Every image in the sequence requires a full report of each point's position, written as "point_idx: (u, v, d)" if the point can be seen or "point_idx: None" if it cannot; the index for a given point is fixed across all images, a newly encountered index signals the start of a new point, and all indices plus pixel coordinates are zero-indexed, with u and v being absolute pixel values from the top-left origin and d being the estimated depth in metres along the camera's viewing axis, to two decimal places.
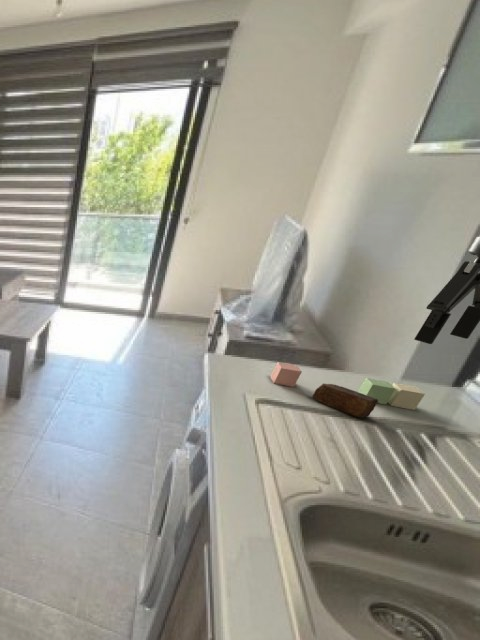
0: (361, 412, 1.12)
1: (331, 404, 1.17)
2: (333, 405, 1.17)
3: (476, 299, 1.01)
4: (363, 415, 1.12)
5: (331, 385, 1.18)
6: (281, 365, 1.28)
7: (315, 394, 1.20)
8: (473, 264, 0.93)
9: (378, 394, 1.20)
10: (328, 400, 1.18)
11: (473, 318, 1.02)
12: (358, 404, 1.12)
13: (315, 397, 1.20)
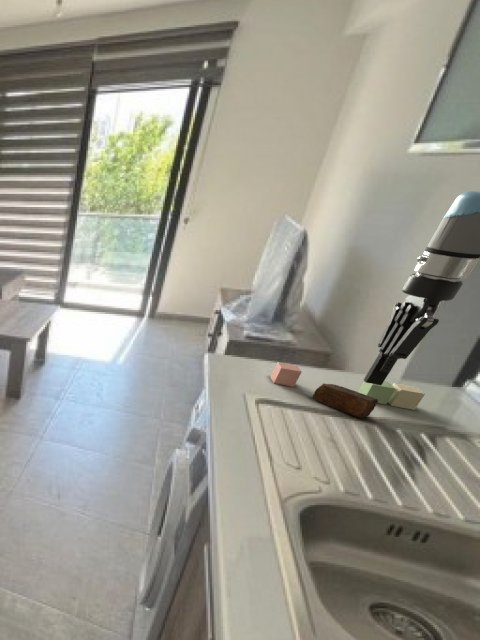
0: (361, 412, 1.12)
1: (331, 404, 1.17)
2: (333, 405, 1.17)
3: (389, 343, 1.03)
4: (363, 415, 1.12)
5: (331, 385, 1.18)
6: (281, 365, 1.28)
7: (315, 394, 1.20)
8: (430, 322, 0.93)
9: (378, 394, 1.20)
10: (328, 400, 1.18)
11: None
12: (358, 404, 1.12)
13: (315, 397, 1.20)
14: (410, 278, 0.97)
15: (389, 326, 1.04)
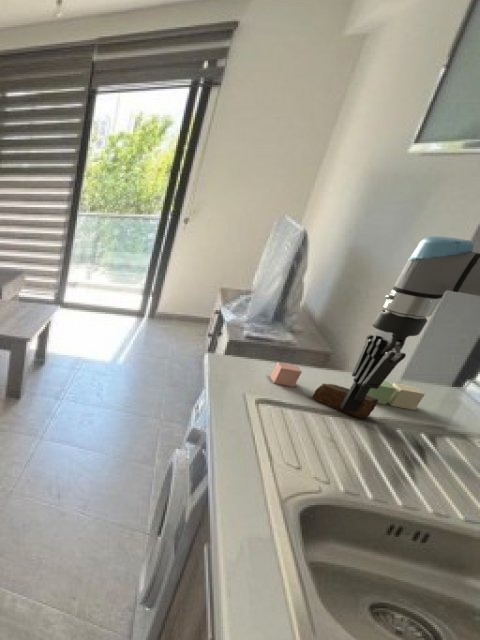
0: (361, 412, 1.12)
1: (331, 404, 1.17)
2: (333, 405, 1.17)
3: (362, 374, 1.10)
4: (363, 415, 1.12)
5: (331, 385, 1.18)
6: (281, 365, 1.28)
7: (315, 394, 1.20)
8: (398, 356, 1.00)
9: (378, 394, 1.20)
10: (328, 400, 1.18)
11: None
12: None
13: (315, 398, 1.20)
14: (379, 314, 1.04)
15: (362, 357, 1.11)
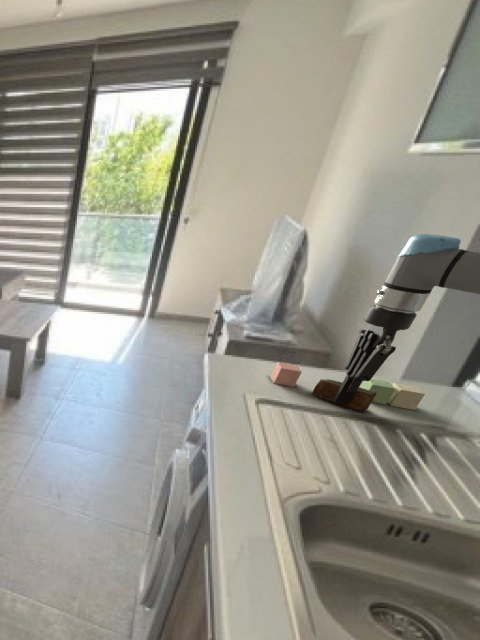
0: (363, 406, 1.15)
1: (332, 399, 1.19)
2: None
3: (354, 367, 1.14)
4: (365, 409, 1.15)
5: (330, 381, 1.20)
6: (281, 365, 1.28)
7: (315, 390, 1.22)
8: (389, 349, 1.04)
9: (378, 394, 1.20)
10: (329, 396, 1.20)
11: None
12: (360, 398, 1.15)
13: (314, 394, 1.22)
14: (371, 309, 1.08)
15: (355, 351, 1.15)
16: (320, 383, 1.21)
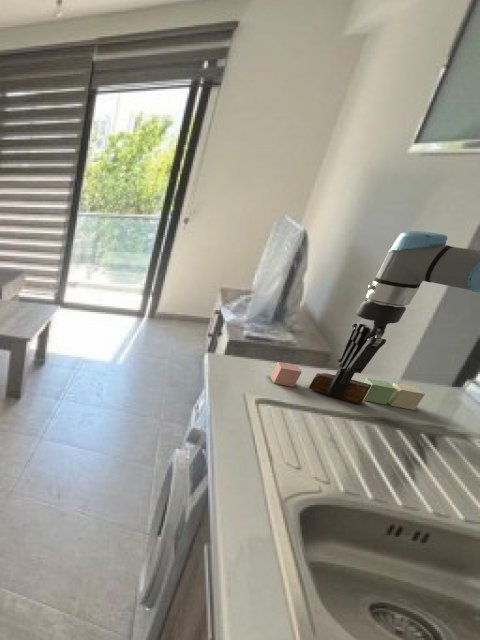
0: (360, 398, 1.19)
1: (329, 393, 1.23)
2: None
3: (347, 359, 1.18)
4: None
5: (326, 374, 1.23)
6: (281, 365, 1.28)
7: (312, 384, 1.25)
8: (379, 342, 1.08)
9: (378, 394, 1.20)
10: (326, 389, 1.23)
11: None
12: (357, 391, 1.19)
13: (312, 387, 1.25)
14: (362, 303, 1.12)
15: (347, 344, 1.19)
16: (317, 377, 1.24)
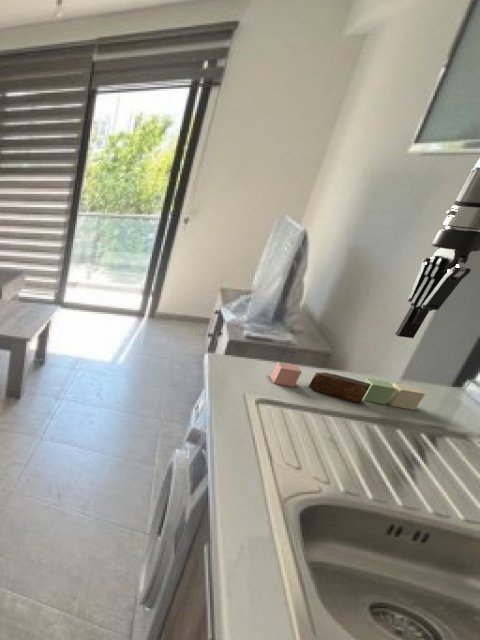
0: (359, 398, 1.19)
1: (329, 392, 1.23)
2: (331, 393, 1.23)
3: (419, 297, 1.07)
4: (361, 400, 1.19)
5: (325, 374, 1.24)
6: (281, 365, 1.28)
7: (312, 384, 1.25)
8: (463, 271, 0.98)
9: (378, 394, 1.20)
10: (325, 388, 1.24)
11: None
12: (356, 390, 1.19)
13: (311, 387, 1.26)
14: (440, 232, 1.01)
15: (418, 281, 1.08)
16: (317, 376, 1.25)
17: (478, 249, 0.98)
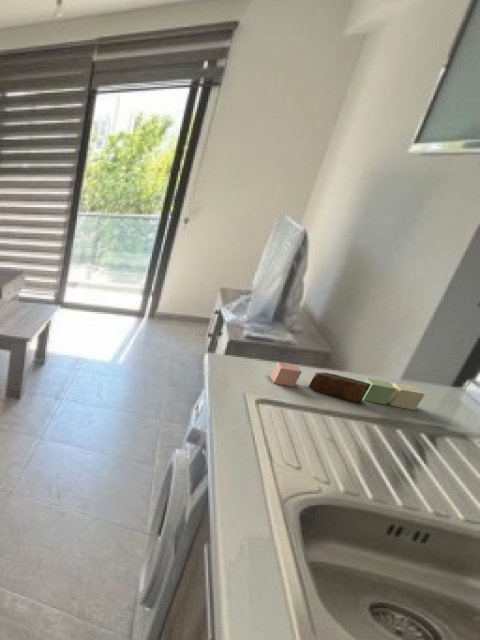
0: (359, 398, 1.19)
1: (329, 392, 1.23)
2: (331, 393, 1.23)
3: None
4: (361, 400, 1.19)
5: (325, 374, 1.24)
6: (281, 365, 1.28)
7: (312, 384, 1.25)
8: None
9: (378, 394, 1.20)
10: (325, 388, 1.24)
11: None
12: (356, 390, 1.19)
13: (311, 387, 1.26)
14: None
15: None
16: (317, 376, 1.25)
17: None
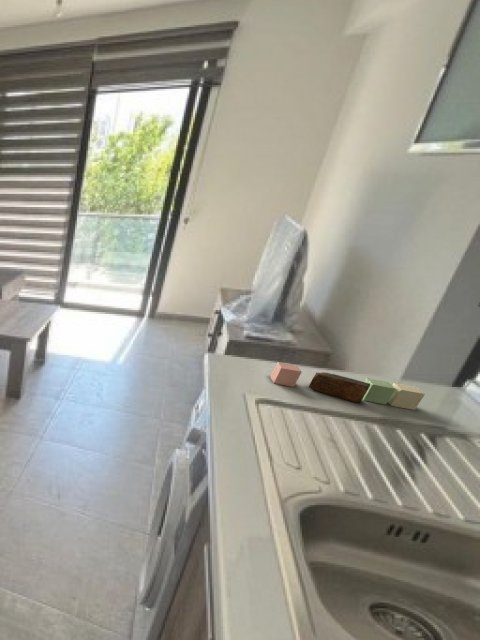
0: (359, 397, 1.19)
1: (329, 392, 1.23)
2: (331, 393, 1.23)
3: None
4: (361, 400, 1.19)
5: (325, 374, 1.24)
6: (281, 365, 1.28)
7: (312, 383, 1.25)
8: None
9: (378, 394, 1.20)
10: (325, 388, 1.24)
11: None
12: (356, 390, 1.19)
13: (311, 387, 1.26)
14: None
15: None
16: (317, 376, 1.25)
17: None
